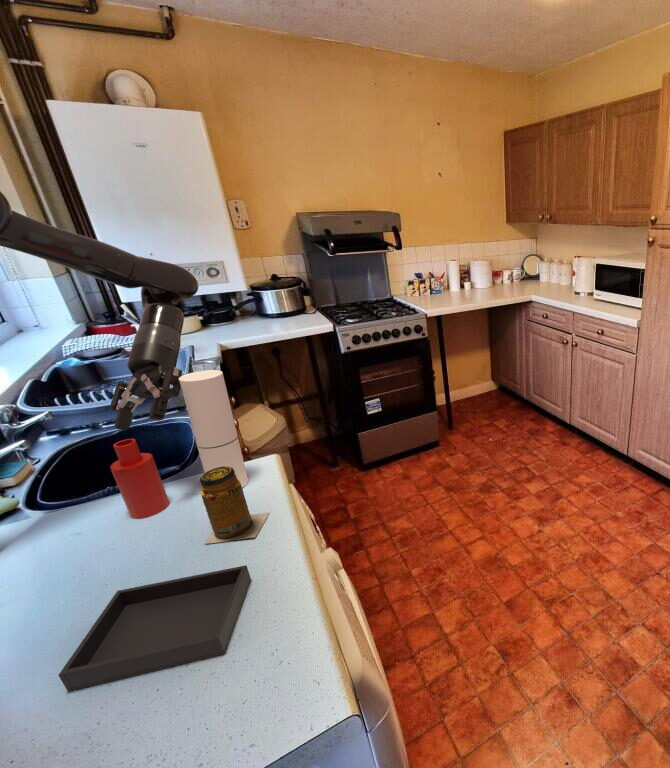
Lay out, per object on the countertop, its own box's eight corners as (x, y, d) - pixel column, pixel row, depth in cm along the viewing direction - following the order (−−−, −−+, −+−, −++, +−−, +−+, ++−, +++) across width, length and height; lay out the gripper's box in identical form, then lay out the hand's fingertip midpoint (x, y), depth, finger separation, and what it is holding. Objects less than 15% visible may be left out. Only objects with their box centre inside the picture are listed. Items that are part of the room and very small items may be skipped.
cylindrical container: (242, 473, 99) (217, 367, 91) (252, 485, 94) (226, 375, 86) (205, 485, 94) (175, 375, 86) (213, 499, 89) (182, 383, 81)
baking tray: (67, 692, 54) (57, 675, 52) (124, 605, 65) (117, 590, 64) (224, 654, 58) (218, 638, 57) (251, 579, 70) (246, 564, 68)
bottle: (123, 521, 84) (94, 453, 78) (139, 502, 89) (113, 437, 84) (161, 515, 85) (135, 448, 80) (174, 496, 91) (151, 432, 85)
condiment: (222, 518, 84) (205, 464, 80) (269, 513, 85) (255, 460, 81) (204, 545, 77) (184, 488, 73) (255, 538, 78) (238, 482, 74)
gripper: (109, 352, 88) (88, 427, 81) (165, 332, 85) (147, 409, 78) (147, 367, 94) (130, 437, 88) (200, 349, 92) (187, 421, 85)
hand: (138, 424), depth 83 cm, fingers open, 8 cm apart
